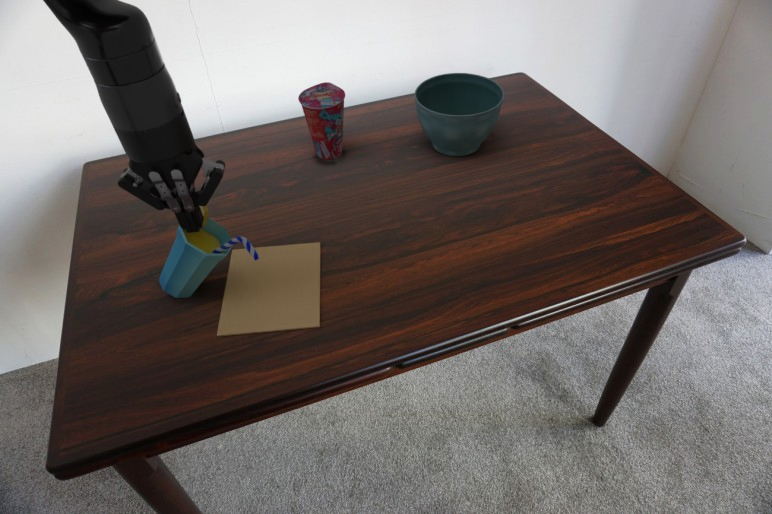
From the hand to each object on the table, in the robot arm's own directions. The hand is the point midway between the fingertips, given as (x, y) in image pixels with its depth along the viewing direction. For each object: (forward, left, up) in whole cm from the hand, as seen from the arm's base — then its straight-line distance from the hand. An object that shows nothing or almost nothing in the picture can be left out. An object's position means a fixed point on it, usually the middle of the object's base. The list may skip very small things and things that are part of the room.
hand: (195, 228), depth 69 cm
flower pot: (+41, +34, -12) cm, 55 cm away
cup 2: (+16, +35, -12) cm, 40 cm away
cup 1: (-5, 0, -11) cm, 12 cm away
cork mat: (+8, 0, -12) cm, 14 cm away
